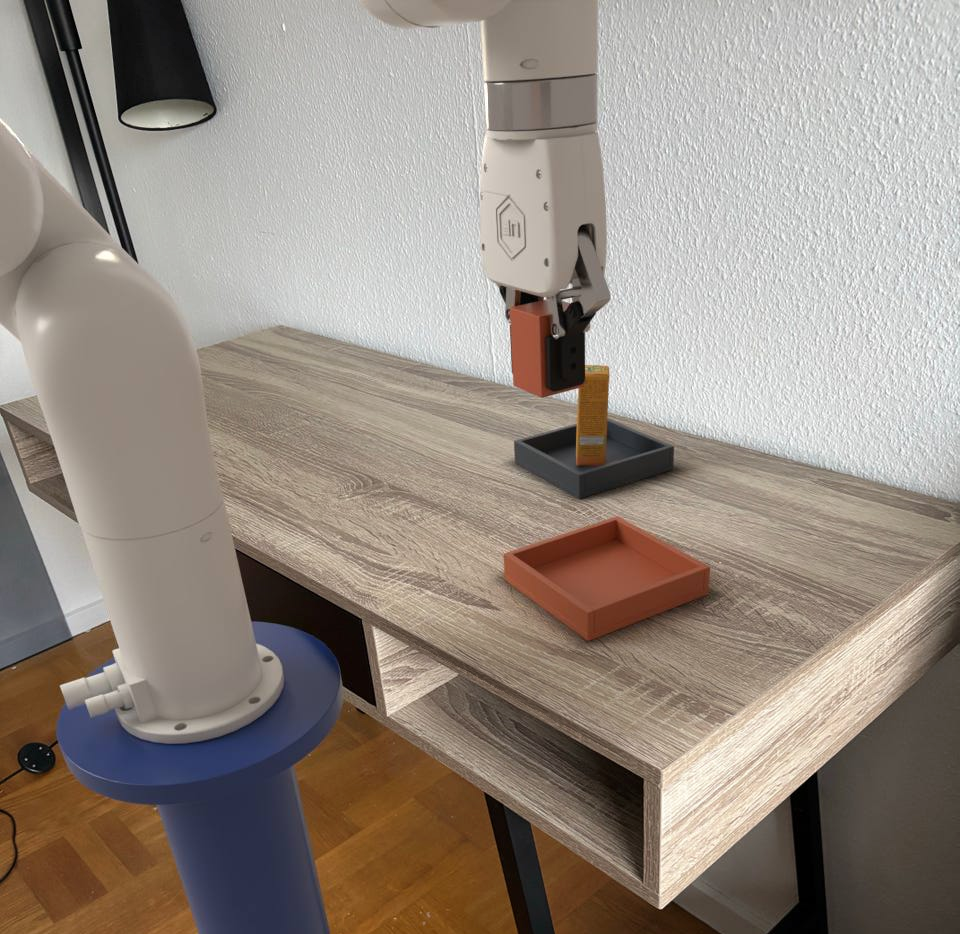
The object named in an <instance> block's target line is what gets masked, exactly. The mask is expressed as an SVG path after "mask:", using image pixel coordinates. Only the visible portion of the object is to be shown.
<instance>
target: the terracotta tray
mask: <svg viewBox="0 0 960 934" xmlns="http://www.w3.org/2000/svg"><path fill="white" fill-rule="evenodd" d="M503 567H504V568H503V570H504V581H506V582H507V583H508V584H510V585H511V586H513V587H514V588H515V589H517V590H518V591H519V592H520V593H522V594H523V595H524V596H526V597H527V598H528V599H530V600H531V601H532V602H534V603H535V604H537V605H538V606H539V607H541V608H542V609H543V610H545V611H546V612H547V613H549V614H550V615H552V616H553V617H554V618H555V619H557V620H558V621H560V622H561V623H562V624H564V625H565V626H566V627H568V628H569V629H570V630H572V631H573V632H575V633H576V634H577V635H578V636H580V637H582V638H583V639H584V640H586V641H587V642H590V641H593V640H595V639H598V638H600V637H603V636H605V635H608V634H610V633H613V632H615V631H618V630H620V629H623V628H625V627H629V626H630V625H633V624H636V623H638V622H641V621H644V620H646V619H649V618H651V617H653V616H657V615H659V614H662V613H664V612H667V611H670V610H671V609H675V608H677V607H679V606H682V605H684V604H687V603H690V602H692V601H694V600H698V599H700V598H702V597H705V596H707V595H709V588H710V576H711V566H710V565H708V564H706V563H704V562H703V561H700V560H699V559H697V558H695V557H693V556H691V555H689V554H687V553H686V552H684V551H682V550H680V549H678V548H677V547H675V546H673V545H671V544H669V543H668V542H665V541H664V540H662V539H661V538H659V537H656V536H655V535H654V534H651V533H650V532H648V531H646V530H644V529H642V528H640V527H638V526H637V525H635V524H633V523H631V522H630V521H627V520H626V519H624V518H622V517H620V516H618V515H616V516H613V517H610V518H608V519H605V520H601V521H598V522H595V523H592V524H589V525H587V526H582V527H579V528H577V529H574V530H571V531H568V532H565V533H561V534H559V535H555V536H553V537H550V538H547V539H544V540H541V541H537V542H535V543H534V542H533V543H532V544H529V545H526V546H523V547H519V548H517V549H513V550H511V551H509V552H505V553H503Z"/></svg>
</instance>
